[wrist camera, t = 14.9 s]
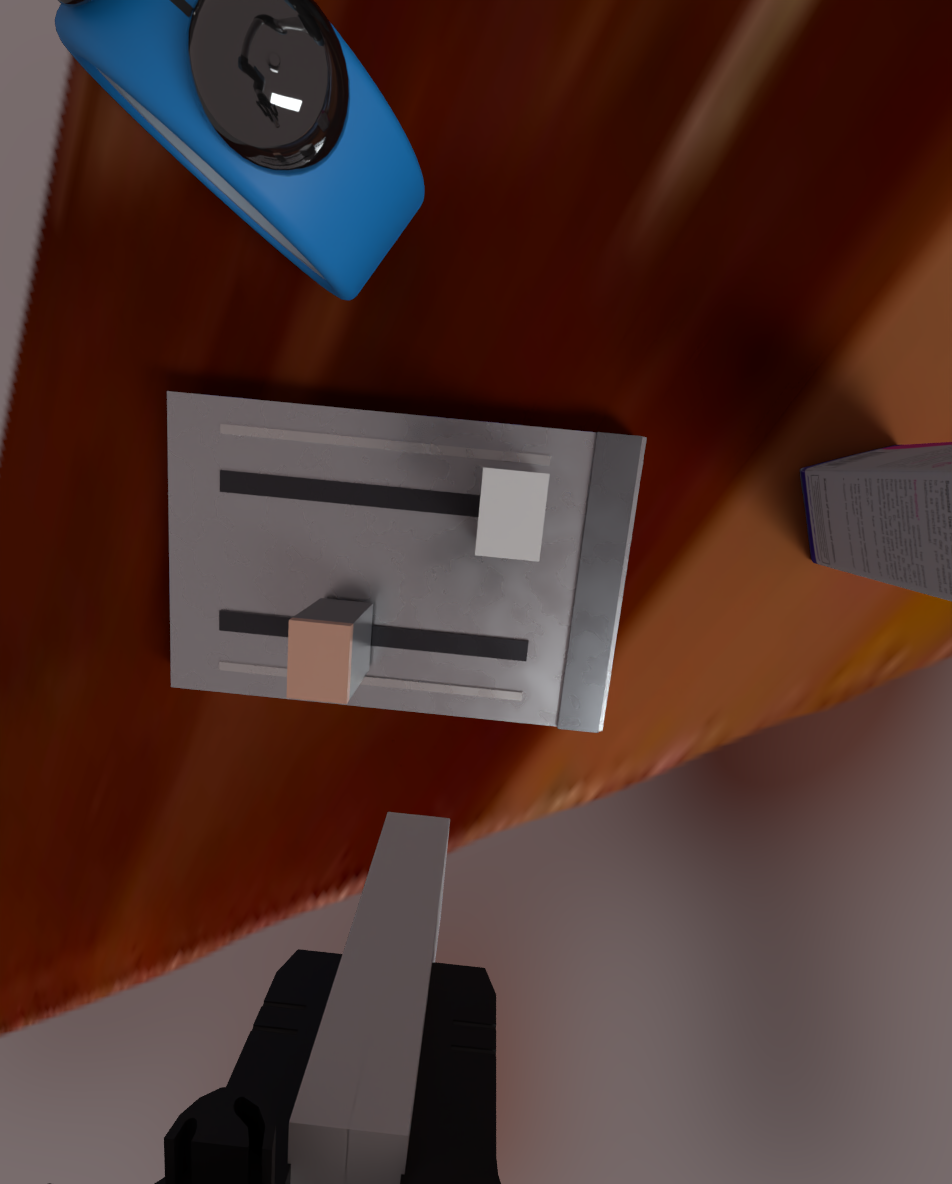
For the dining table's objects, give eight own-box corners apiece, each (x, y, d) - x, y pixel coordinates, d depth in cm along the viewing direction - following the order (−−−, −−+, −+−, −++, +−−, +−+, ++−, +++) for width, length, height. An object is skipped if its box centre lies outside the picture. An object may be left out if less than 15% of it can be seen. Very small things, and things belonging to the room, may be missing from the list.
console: (186, 396, 32) (163, 389, 30) (637, 439, 32) (648, 436, 30) (188, 675, 36) (168, 688, 33) (596, 717, 35) (603, 733, 33)
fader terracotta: (320, 597, 32) (288, 619, 27) (373, 603, 32) (350, 626, 27) (318, 664, 33) (286, 697, 28) (369, 669, 33) (346, 704, 28)
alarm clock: (182, 169, 30) (-118, -131, 15) (248, 63, 29) (-6, -367, 14) (375, 335, 31) (270, 206, 17) (444, 240, 30) (398, 13, 16)
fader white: (484, 469, 30) (483, 467, 25) (540, 474, 30) (549, 473, 25) (477, 543, 31) (474, 555, 26) (531, 548, 31) (539, 561, 26)
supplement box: (810, 567, 33) (973, 612, 22) (797, 467, 32) (961, 461, 21) (911, 543, 33) (1130, 577, 21) (901, 442, 32) (1126, 421, 20)
